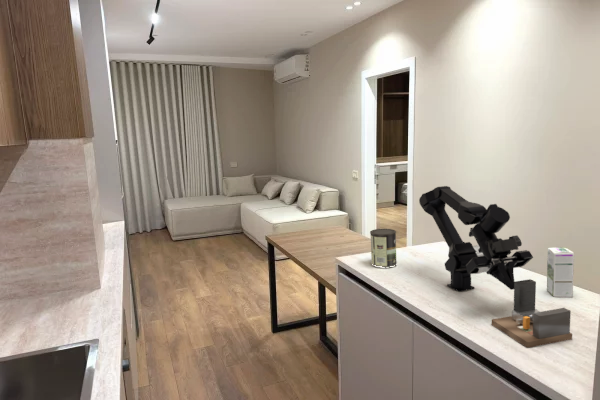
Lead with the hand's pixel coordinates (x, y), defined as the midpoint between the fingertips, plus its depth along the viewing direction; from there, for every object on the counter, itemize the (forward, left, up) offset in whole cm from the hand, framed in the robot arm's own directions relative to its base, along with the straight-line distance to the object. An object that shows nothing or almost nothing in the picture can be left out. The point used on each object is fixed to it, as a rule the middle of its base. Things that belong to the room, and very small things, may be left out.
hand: (513, 288), depth 115 cm
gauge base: (+8, -2, -9) cm, 12 cm away
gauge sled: (+6, -1, -7) cm, 9 cm away
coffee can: (-59, -7, -9) cm, 60 cm away
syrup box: (-7, +26, -9) cm, 28 cm away
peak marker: (+9, -5, -7) cm, 12 cm away
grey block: (-40, +20, -9) cm, 45 cm away
